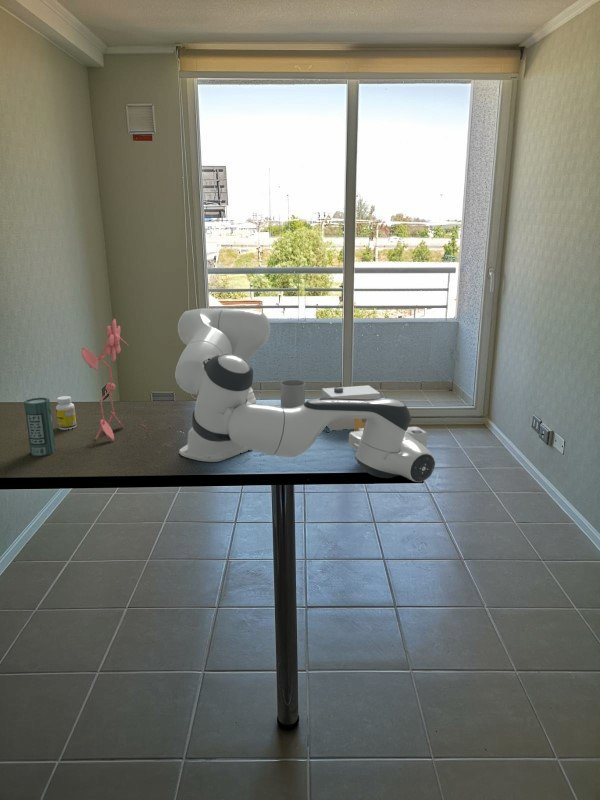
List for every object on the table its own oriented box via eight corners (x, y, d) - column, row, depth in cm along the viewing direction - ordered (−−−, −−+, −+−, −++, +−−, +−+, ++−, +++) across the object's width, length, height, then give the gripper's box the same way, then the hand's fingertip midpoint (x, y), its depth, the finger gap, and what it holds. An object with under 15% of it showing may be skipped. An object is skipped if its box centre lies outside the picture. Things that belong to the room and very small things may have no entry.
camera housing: (379, 426, 188) (380, 390, 184) (322, 431, 183) (323, 394, 180) (367, 417, 197) (368, 382, 194) (313, 421, 193) (313, 386, 189)
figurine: (82, 449, 168) (72, 325, 159) (111, 421, 193) (104, 313, 183) (136, 450, 168) (129, 327, 158) (158, 422, 193) (154, 314, 183)
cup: (305, 414, 200) (305, 386, 197) (280, 414, 200) (280, 386, 197) (304, 407, 208) (304, 379, 205) (281, 407, 208) (280, 379, 205)
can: (58, 448, 169) (52, 397, 165) (49, 456, 163) (42, 403, 159) (37, 448, 169) (30, 397, 165) (27, 456, 163) (20, 403, 159)
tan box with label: (376, 442, 174) (378, 413, 171) (359, 444, 172) (360, 414, 170) (371, 437, 178) (372, 409, 175) (353, 439, 177) (354, 410, 174)
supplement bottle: (55, 427, 187) (51, 397, 184) (72, 423, 190) (69, 394, 188) (62, 431, 183) (59, 400, 180) (79, 427, 187) (76, 397, 184)
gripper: (357, 461, 152) (340, 443, 165) (431, 454, 157) (408, 437, 170) (358, 437, 150) (341, 421, 163) (432, 431, 155) (409, 416, 168)
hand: (376, 429), depth 166 cm, fingers open, 8 cm apart
